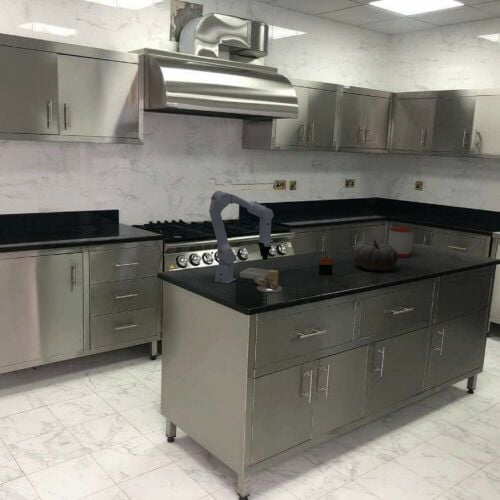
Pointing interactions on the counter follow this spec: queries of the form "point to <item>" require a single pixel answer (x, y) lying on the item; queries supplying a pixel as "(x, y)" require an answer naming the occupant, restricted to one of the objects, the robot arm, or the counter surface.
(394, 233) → the citrus juicer
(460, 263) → the counter surface
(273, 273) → the stop block
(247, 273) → the tray
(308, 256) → the counter surface
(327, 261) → the battery
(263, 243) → the robot arm
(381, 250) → the gourd
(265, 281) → the crank lever
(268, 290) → the crank base
